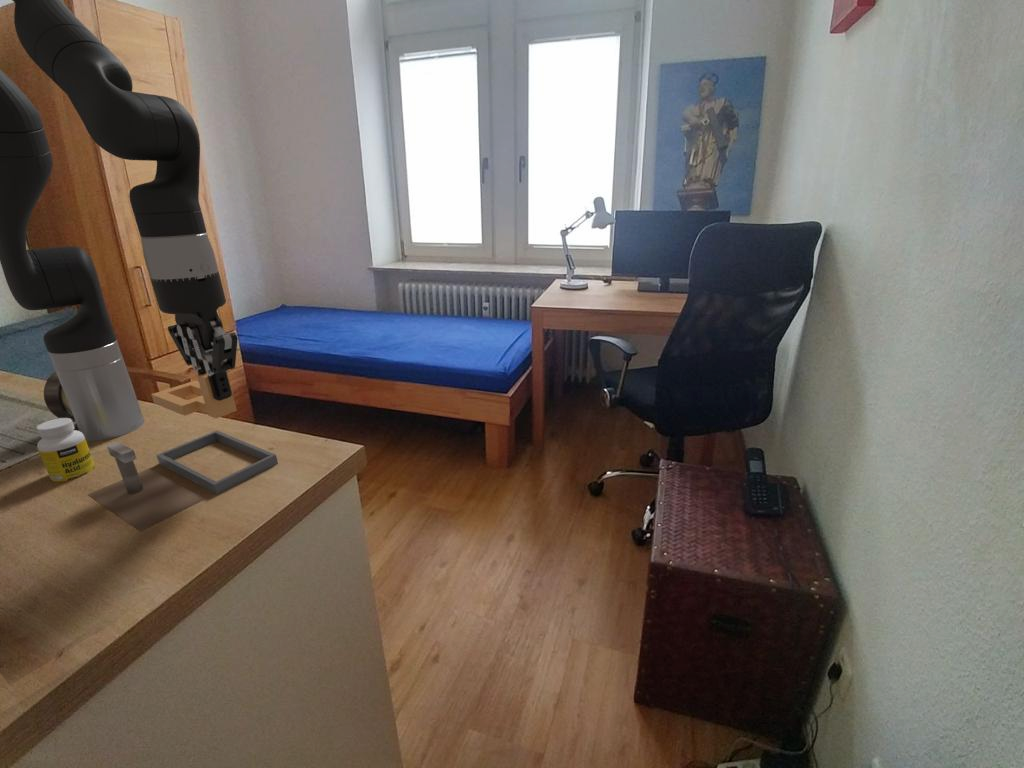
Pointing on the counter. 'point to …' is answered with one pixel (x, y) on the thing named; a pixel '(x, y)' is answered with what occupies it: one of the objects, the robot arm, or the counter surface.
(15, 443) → the counter surface
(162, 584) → the counter surface
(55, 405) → the alarm clock
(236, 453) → the counter surface
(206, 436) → the tray
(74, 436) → the supplement bottle
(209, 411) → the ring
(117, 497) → the board
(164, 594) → the counter surface
